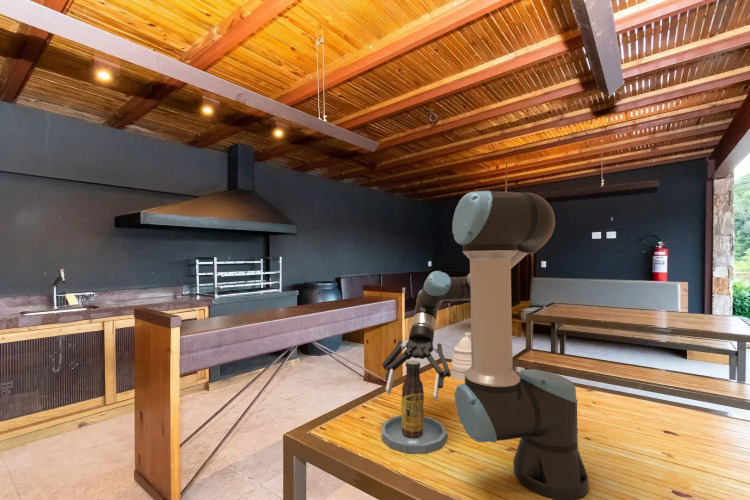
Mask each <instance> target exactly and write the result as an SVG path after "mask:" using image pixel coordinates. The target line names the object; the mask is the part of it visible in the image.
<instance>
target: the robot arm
mask: <svg viewBox="0 0 750 500" xmlns="http://www.w3.org/2000/svg"><path fill="white" fill-rule="evenodd" d="M457 203H458V204H457V205H456V207H455V211H454V214H453V218H452V225H451V226H452V229H451V230H452V235H453V239H454V240H455V242H456V244H458V245H460V246H462V253H463V254H464V255H465V256H466V257H467V259H469V273H468V274H467V275H466V276H458V277H455V276H453V277H451V276H449V274H447V273H446V272H443V271H441V270H435V271H432V272H430V273H429V274H428V276H427V277H426V278H425V279H426V280H425V281H424V284H423V286H422V289H420V290H419V291H418V294H417V297H416V303H415V307H414V313H413V318H412V322H411V326H410V331H409V337H408V341H407V342H403V341H402V339H401V340H400V339H399V340H398V341H397V343H396V346H395V348H394V349H393V350H392V351H391V352H390V354H389V355H388V356H387V357H386V358H385V360H384V361H383V362H382V364H381V366H382V368H383V369H384V370H385V371H386V373H385V382H386V387H385V392H386V393H387V395H391V393H392V388H393V384H394V381H395V374H396V373H395V371H396V370H397V369H398V368H399V367H401V366H402V365H403V364H404V363H406V362H407V361H409V360H410V359H411V358H413V359H421V360H424V359H427V361H428V362H429V363H430V364H431V366H432V367H433V369H434V370H435V372H436V373H435V379H434V388H433V395H432V396H433V399H434V401H435V402H438V399H439V391H440V389H443V387H444V381H445V378H446V377H447V378H450V377H451V368H450V367H449V365H448V362H447V360H446V358H445V355H444V353H443V346H442V343H440V342H439V343H437V344H435V345H434V335H435V330H436V323H437V317H438V312H439V309H440V307H441V305H442V304H443V302H451V301H456V302H457V301H470V333H471V337H470V340H471V357H472V366H471V367H470V368H469V369H468V370H467V371H466V372H465V381H464V383H461V384H458V386H456V388H455V390H454V402H455V407H456V411H457V412H456V413H457V416H458V417H459V420H460V423H461V425H462V427H463V429H464V431H465V432H466V434H467V435H468V436H469V438H471V439H472V440H473V441H475V442H477V443H487V442H488V443H489V442H490V443H496V442H498V441H499V442H500V441H507V440H513V439H519V441H518V445H517V447H516V452H515V454H514V457H513V462H512V463H513V474H514V477H515V478H516V479H517V481H518V482H519V483H520V484H521V485H523V486H524V487H525V488H527V489H528V490H530V491H532V492H533V493H536V494H538V495H541V496H542V497H546V498H550V499H554V500H572V499H575V500H578V498H579V499H581V498H580V497H582V498H583V497H585V496H586V495H587V494H588V492H589V489H590V488H589V486H590V485H589V475H588V473H587V469H586V467H585V464H584V462H583V459H582V457H581V453H580V451H579V443H578V440H579V439H578V438H579V437H578V403H579V402H578V400H577V392H576V390H577V389H576V387H575V384H574V382H572V381H571V380H570V379H568V378H566V377H564V376H562V375H559V374H556V373H552V372H550V371H545V370H540V369H530V368H528V369H524V368H523V369H521V370H520V371H519V372H518V373H519V374H518V373H517V372H515V370H513V368H514V367H513V366H514V365H513V327H512V326H513V325H512V324H513V321H512V317H513V316H512V311H513V310H512V270H511V269H513V268H514V267H515V266H516V265H517V264H518V263H519V262H520V261H522V260H523V259H524V257H526V256H527V255H528V254H529V255H531V254H535V253H536V252H537V251H540V249H541V248H542V247H544V246H545V245H546V243H547V242H549V239H550V238H551V237H552V235H553V232H554V230H555V226H556V217H555V212H554V210H553V208H552V207H551V205H550V203H549V202H548V201H547V200H546V199H545V198H543V197H541V196H540V195H538V194H535V193H532V192H525V191H523V192H522V191H521V192H515V191H497V190H496V191H493V190H480V191H471V192H467V193H466V194H465V195H463V196H462V197H461V199H460V200H459V201H458V202H457ZM405 348H406V349H405ZM402 351H403V353H402ZM433 351H435V353H437V354H438V356H439V360H440V362H441V365H442V367H443V369H444V370H443V369H442V368H441V367H440V364H439V363H438V362H437V361H436V359H435V358H434V357H433V356H432V354H431V353H432V352H433ZM401 353H402V354H401ZM586 493H587V494H586ZM584 495H585V496H584Z"/></svg>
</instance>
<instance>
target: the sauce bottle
mask: <svg viewBox="0 0 750 500" xmlns="http://www.w3.org/2000/svg"><path fill="white" fill-rule="evenodd" d="M405 367H406V375H405V380H404V381H403V385H402V387H401V388H402V391H401V392H402V394H401V415H402V419H401V426H402V433H403V434H404V435H405V436H408V437H418V436H420V435H422V432H423V417H424V416H425V415H424V405H425V404H424V400H425V399H424V397H425V394H424V387H423V386H424V385H423V382H422V380H421V377H420V368H421V362H420V361H418V360H410V359H409V360H406V361H405Z"/></svg>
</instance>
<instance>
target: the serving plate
mask: <svg viewBox="0 0 750 500" xmlns="http://www.w3.org/2000/svg"><path fill="white" fill-rule="evenodd" d="M401 419H402V414H401V415H400V414H399V415H396V416H393V417H389V418H388V419H387V420H385V422H383V423H382V424H381V442H383V443H384V444H385V445H387V447H389V449H391V450H395V451H398V452H401V453H405V454H409V455H410V454H418V455H420V454H429V453H432V452H434V451H438V450H440V449H442V448H443V446H444V445H445V443H447V441H448V432H447V430H446V426H445V424H443V423H442V422H441V421H439V420H437V419H436V418H434V417H431V416H427V415H424V417H423V432H422V435H420V436H418V437H408V436H405V435H404V434H403V433H402V426H401Z"/></svg>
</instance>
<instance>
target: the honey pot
mask: <svg viewBox="0 0 750 500" xmlns="http://www.w3.org/2000/svg"><path fill="white" fill-rule="evenodd" d="M464 335H465V336H463V337H461V339H460V340H459V341H458V343H457V345H456V346H454V347H453V351H454V353H453V355H452V359H451V362H450V373H451V376H450V377H451V378H452V379H453V380H456V381H461V382H465V372H466V371H467V370H468V369H469V368H470V367H471V366H472V357H471V332H465V334H464Z"/></svg>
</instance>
